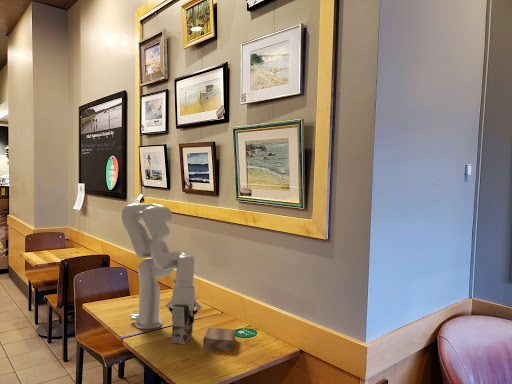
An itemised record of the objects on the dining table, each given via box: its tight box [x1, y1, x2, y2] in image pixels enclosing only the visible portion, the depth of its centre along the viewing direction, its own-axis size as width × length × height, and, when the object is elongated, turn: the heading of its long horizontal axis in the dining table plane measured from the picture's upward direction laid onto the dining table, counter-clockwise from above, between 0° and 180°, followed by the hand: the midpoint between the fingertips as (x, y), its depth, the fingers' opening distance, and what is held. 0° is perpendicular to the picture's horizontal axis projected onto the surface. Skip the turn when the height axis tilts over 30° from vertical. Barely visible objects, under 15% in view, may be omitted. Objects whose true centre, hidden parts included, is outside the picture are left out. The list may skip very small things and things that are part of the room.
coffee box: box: [171, 305, 194, 345], centre depth 170 cm, size 9×6×16 cm
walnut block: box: [202, 327, 237, 352], centre depth 167 cm, size 12×12×5 cm
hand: (183, 323), depth 170 cm, fingers closed on coffee box, 6 cm apart
